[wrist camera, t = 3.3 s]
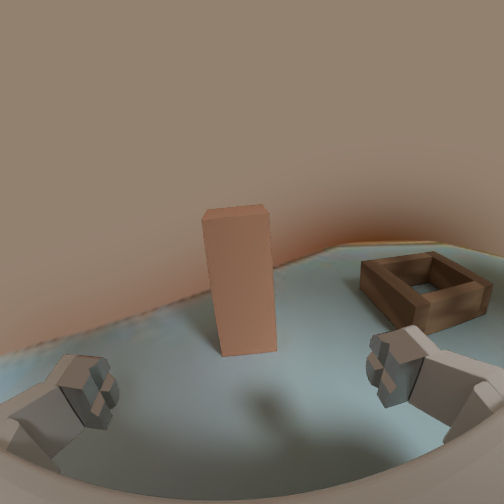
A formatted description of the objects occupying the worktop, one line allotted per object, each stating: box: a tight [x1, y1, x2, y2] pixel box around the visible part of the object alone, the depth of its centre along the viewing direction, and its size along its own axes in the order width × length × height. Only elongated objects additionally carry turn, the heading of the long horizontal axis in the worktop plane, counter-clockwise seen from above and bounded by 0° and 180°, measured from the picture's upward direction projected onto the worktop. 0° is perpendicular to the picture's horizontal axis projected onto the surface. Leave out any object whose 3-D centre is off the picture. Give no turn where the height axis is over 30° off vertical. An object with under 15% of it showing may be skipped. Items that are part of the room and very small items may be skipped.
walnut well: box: [360, 251, 493, 335], centre depth 23 cm, size 10×10×3 cm
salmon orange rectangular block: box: [202, 204, 277, 357], centre depth 20 cm, size 4×4×10 cm
